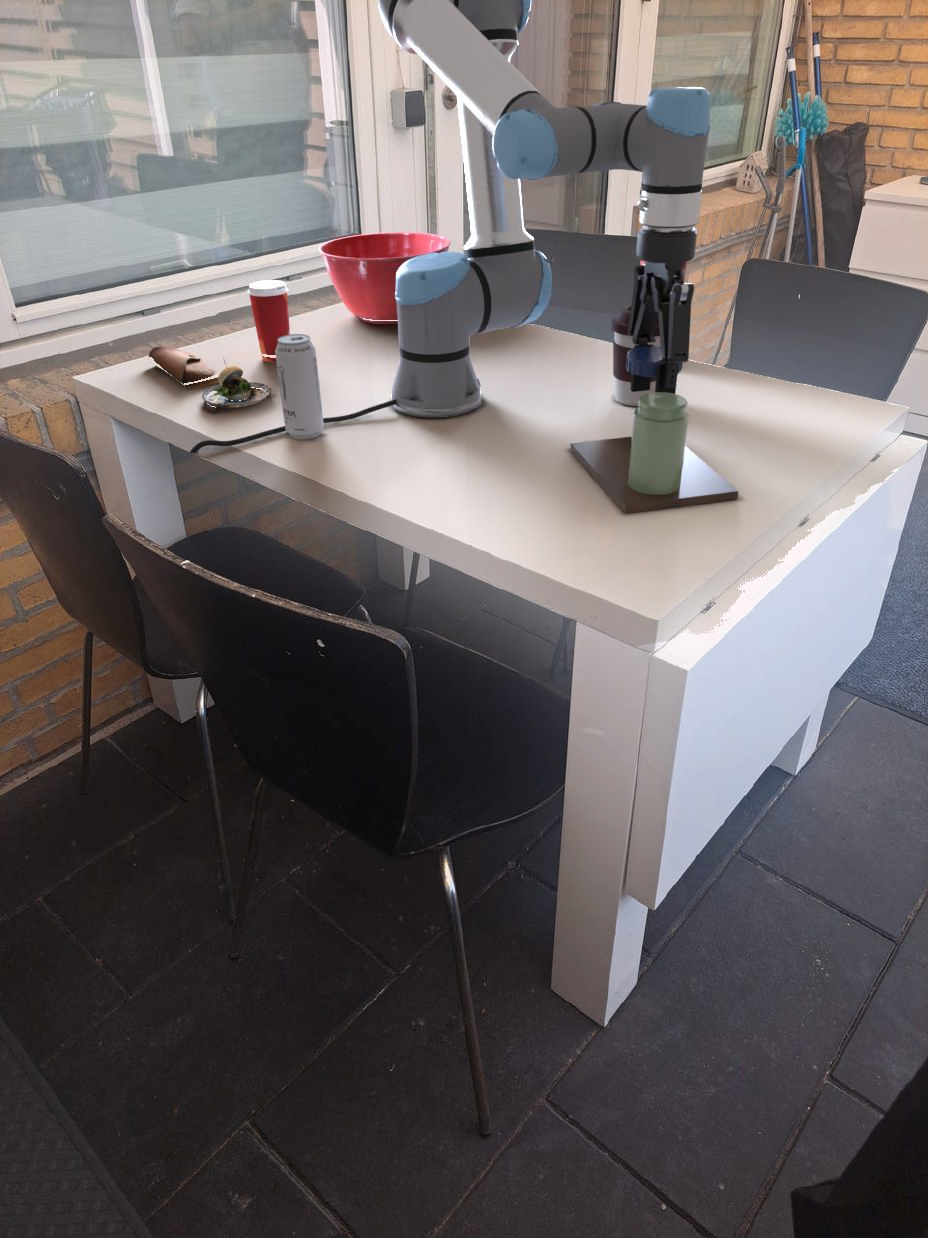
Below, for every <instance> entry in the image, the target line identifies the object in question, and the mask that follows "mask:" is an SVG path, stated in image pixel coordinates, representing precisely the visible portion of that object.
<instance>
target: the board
mask: <svg viewBox="0 0 928 1238" xmlns="http://www.w3.org/2000/svg"><path fill="white" fill-rule="evenodd" d="M631 439H632V436H623V437H615V438H606V439H597V440H588V441H579V442H571V443H570V445H569V451H570V452H571V453H572V454H573V456H574V457H575V458H576V459H577V460H578V462H579V463H581V465H582V466H583V467H584V468H585V469H586V470H587V472H588V473H589V474H590V475H591V476H592V477H593V478H594V480H595V481H596V482H597V483H598V484H599V486H601V488H603V490H604V491H605V493H607V495H609V497H610V498H611V499H612V500H613V501H614V503H616V505H617V506H618V507H619V508H620V509H621V510H622V511H623V513H624V514H634V513H640V512H649V511H656V510H663V509H664V510H665V509H672V508H680V507H688V506H696V505H704V504H711V503H718V502H719V503H720V502H724V501H725V502H727V501H735V500H739V494H740V493H739V492H740V491H739V490H738V489H737V488H735V486H733V484H731V483H730V482H728V480H726V479H725V478H724V477H723V476H722V475H720V474H719V473H718V472H717V471H716V470H715V469H713V468H712V467H711V466H710V465H709V464H707V463H706V462H705V460H703V459H702V458H700V457H699V456H698V455H697V454H696V453H695V452H694V451H692V450H691V449H690V448H689V447H687V445H685V451H684V460H683V468H682V476H681V484H680V488H679V489H678V490H677V491H676V492H674V493H671V494H666V495H648V494H643V493H639V492H637V491H635V490H633V489H631V488H630V487H629V485H628V473H629V462H630V451H631Z"/></svg>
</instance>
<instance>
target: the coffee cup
mask: <svg viewBox="0 0 928 1238" xmlns="http://www.w3.org/2000/svg"><path fill="white" fill-rule="evenodd" d="M630 311H631V305H627V306H625V307H623V308H622V309H621V311H620V313H619V314H616V315H614V316H612V318H611V322H610V323H611V325H610V328H611V331H612V332H614V339H613V341H612V342H613V343H612V375H613V377H614V379H613V380H614V381H613V382H614V383H613V384H614V385H613V387H614V388H613V390H614V391H613V395H614V397H613V398H614V399H615V401H617V402H618V403H620V404H621V405H625V406H631V407H638V405H639V398H640V397H641V396H642V395H644V394H647V393H653V392H655V386H656V377H651V383H650V390H647V391H638V392H632V391H631V378H632V373H630V372H629V371H627V369H626V357H627V353H628V351H629V350H631V349H634V346H635V344H633V342H632V336H629V335H628V326H629V318H630ZM635 326H636V325H635ZM653 337H654V338H655V340H656V342H653V343H648V344H652V345H654V346H659V347H661V346H660V330H659V315H658V319H657V322H656V326H655V329H654V333H653Z"/></svg>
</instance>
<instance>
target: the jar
mask: <svg viewBox="0 0 928 1238" xmlns="http://www.w3.org/2000/svg"><path fill="white" fill-rule="evenodd" d="M687 407H688V400H687V399H686V398H685V397H684V396H683V395H680V394H677V393H675V394H673V393H666V392H653V393H647V394H644V395H642V396H641V397H640V398H639V405H638V406H637V408H636V409H634V411H633V419H632V428H631V437H632V439H631V451H630V462H629V473H628V485H629V487H630V488H631V489H633V490H635V491H637V492H639V493H643V494H648V495H666V494H671V493H674V492H676V491H677V490H678V489H679V488H680V484H681V476H682V468H683V460H684V451H685V446H686V443H687V434H688V427H689V418H690V414H689V412H688V411H687Z"/></svg>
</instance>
